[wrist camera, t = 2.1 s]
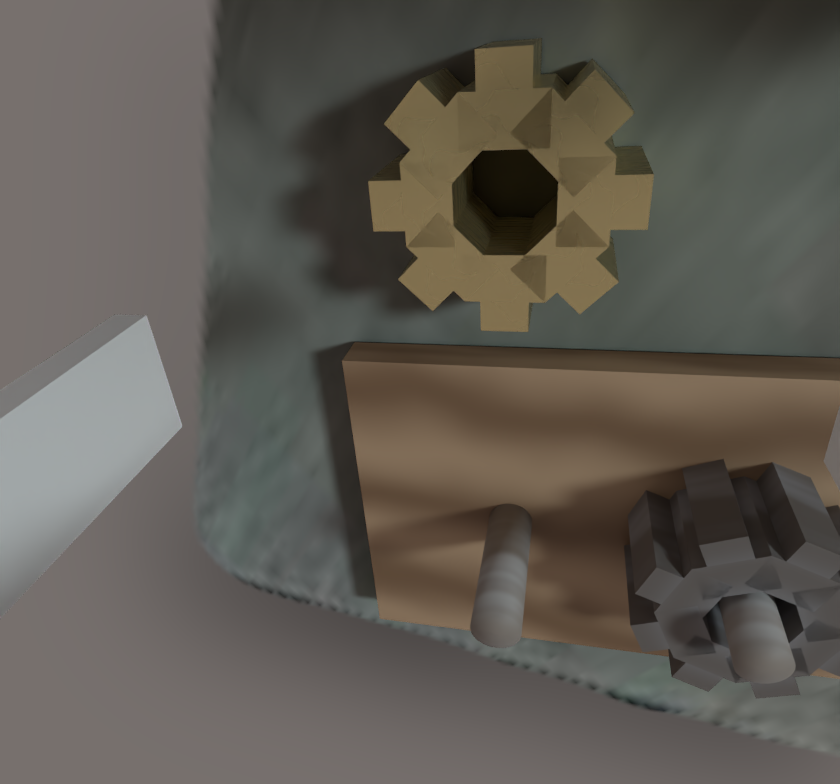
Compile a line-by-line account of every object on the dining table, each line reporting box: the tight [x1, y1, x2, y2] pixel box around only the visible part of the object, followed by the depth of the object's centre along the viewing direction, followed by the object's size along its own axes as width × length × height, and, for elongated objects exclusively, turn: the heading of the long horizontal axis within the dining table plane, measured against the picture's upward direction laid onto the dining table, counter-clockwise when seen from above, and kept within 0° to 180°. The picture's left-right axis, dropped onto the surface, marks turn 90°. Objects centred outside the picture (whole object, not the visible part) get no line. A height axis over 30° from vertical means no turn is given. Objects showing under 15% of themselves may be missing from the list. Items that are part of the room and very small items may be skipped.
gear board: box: [342, 342, 840, 698], centre depth 30 cm, size 18×26×9 cm
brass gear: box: [368, 38, 654, 332], centre depth 24 cm, size 10×10×5 cm
